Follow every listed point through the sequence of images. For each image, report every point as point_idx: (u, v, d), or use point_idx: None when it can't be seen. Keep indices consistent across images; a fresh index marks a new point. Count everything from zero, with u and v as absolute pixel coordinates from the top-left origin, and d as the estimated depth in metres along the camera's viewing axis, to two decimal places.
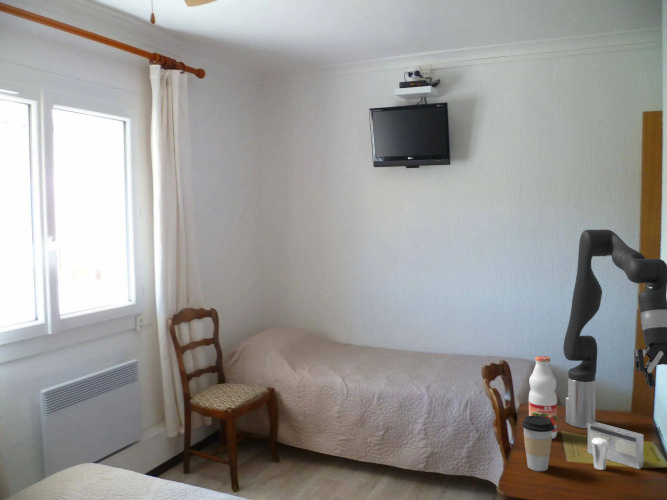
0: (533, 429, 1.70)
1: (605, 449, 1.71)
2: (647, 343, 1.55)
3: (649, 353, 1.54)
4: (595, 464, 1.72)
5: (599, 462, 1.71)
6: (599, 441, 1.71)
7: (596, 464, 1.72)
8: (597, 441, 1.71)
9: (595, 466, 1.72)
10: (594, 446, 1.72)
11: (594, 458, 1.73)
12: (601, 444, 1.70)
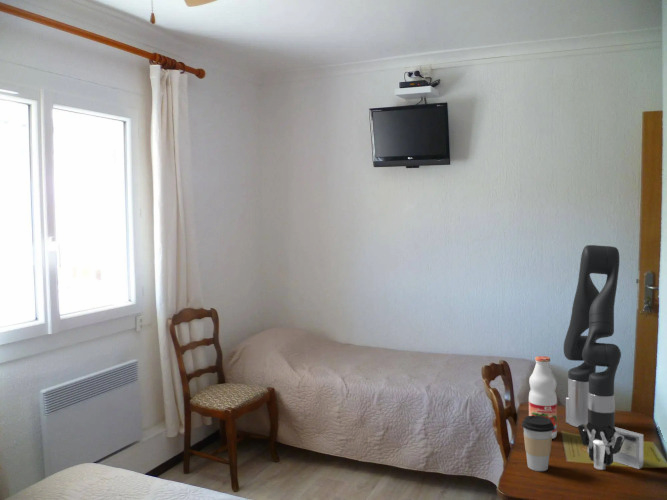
0: (533, 429, 1.70)
1: None
2: None
3: (587, 427, 1.75)
4: (595, 464, 1.72)
5: (599, 462, 1.71)
6: (600, 441, 1.71)
7: (596, 464, 1.72)
8: (598, 441, 1.71)
9: (595, 466, 1.72)
10: (595, 446, 1.72)
11: (594, 458, 1.72)
12: (602, 445, 1.70)
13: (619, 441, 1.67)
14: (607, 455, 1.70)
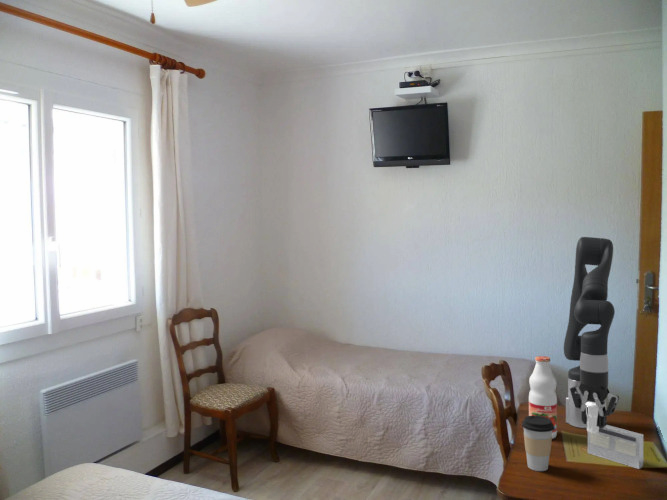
0: (533, 429, 1.70)
1: None
2: None
3: (579, 389, 1.67)
4: (588, 427, 1.64)
5: (592, 425, 1.63)
6: (593, 403, 1.63)
7: (589, 427, 1.64)
8: (591, 403, 1.63)
9: (588, 429, 1.64)
10: (587, 408, 1.64)
11: (587, 421, 1.64)
12: (595, 406, 1.62)
13: (613, 402, 1.59)
14: (600, 417, 1.62)
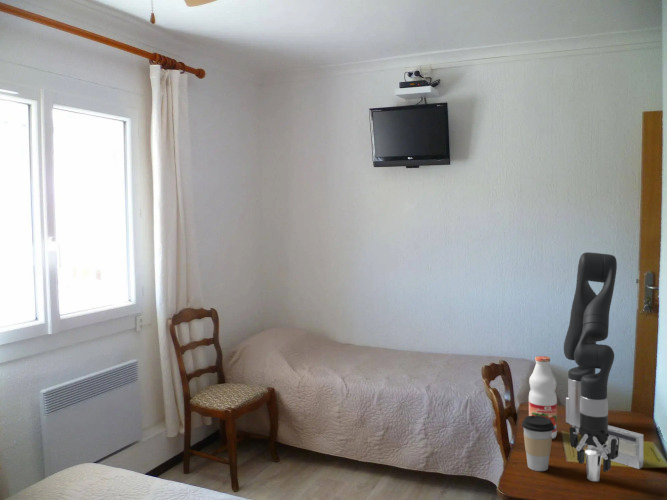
0: (533, 429, 1.70)
1: (599, 460, 1.63)
2: None
3: (579, 432, 1.67)
4: (588, 475, 1.65)
5: (593, 473, 1.64)
6: (593, 451, 1.64)
7: (589, 475, 1.65)
8: (591, 451, 1.64)
9: (588, 477, 1.65)
10: (587, 457, 1.64)
11: (587, 469, 1.65)
12: (595, 455, 1.63)
13: (614, 444, 1.59)
14: (604, 461, 1.62)
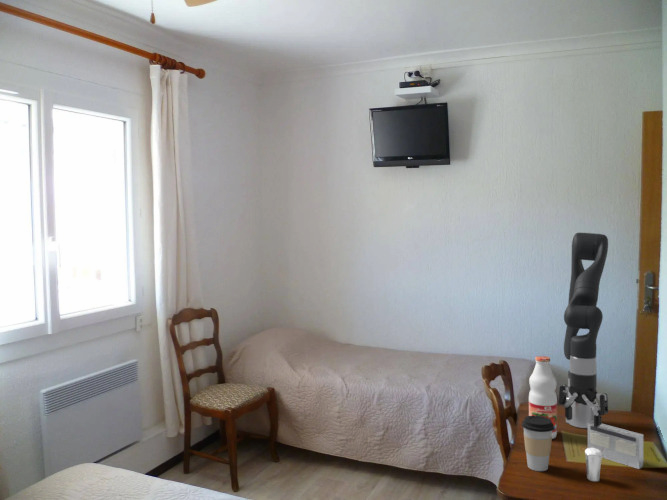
0: (533, 429, 1.70)
1: (599, 460, 1.63)
2: None
3: (569, 391, 1.73)
4: (588, 475, 1.65)
5: (593, 473, 1.64)
6: (592, 451, 1.64)
7: (589, 475, 1.65)
8: (590, 451, 1.64)
9: (588, 477, 1.65)
10: (587, 457, 1.64)
11: (587, 469, 1.65)
12: (595, 455, 1.63)
13: (602, 400, 1.65)
14: (595, 417, 1.67)
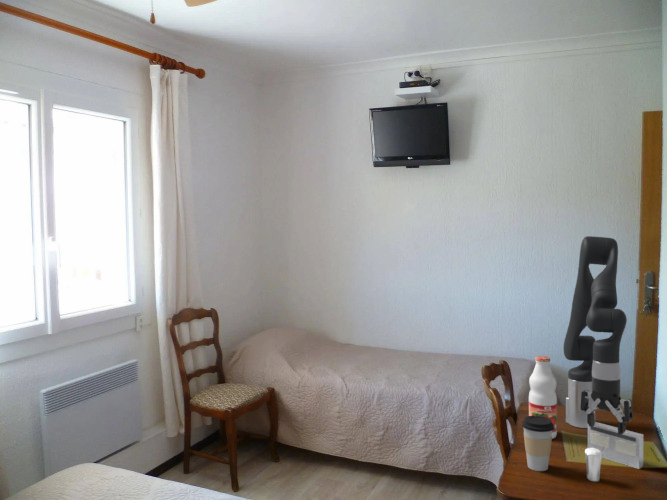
0: (533, 429, 1.70)
1: (599, 460, 1.63)
2: None
3: (591, 397, 1.68)
4: (588, 475, 1.65)
5: (593, 473, 1.64)
6: (592, 451, 1.64)
7: (589, 475, 1.65)
8: (590, 451, 1.64)
9: (588, 477, 1.65)
10: (587, 457, 1.64)
11: (587, 469, 1.65)
12: (595, 455, 1.63)
13: (627, 406, 1.60)
14: (619, 423, 1.62)
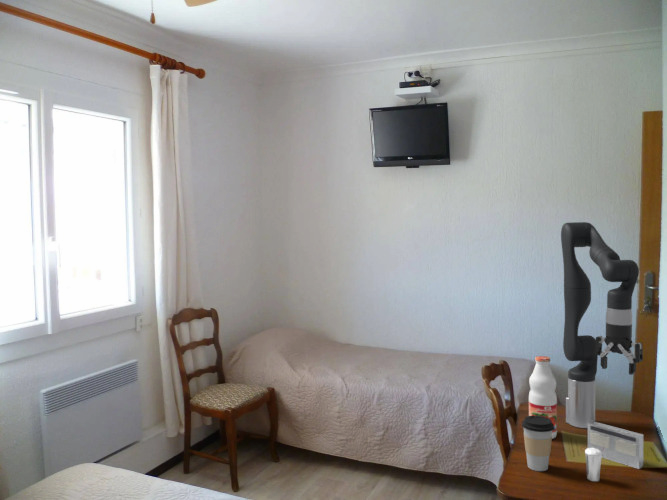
0: (533, 429, 1.70)
1: (599, 460, 1.63)
2: None
3: (605, 342, 1.83)
4: (588, 475, 1.65)
5: (593, 473, 1.64)
6: (593, 451, 1.64)
7: (589, 475, 1.65)
8: (590, 451, 1.64)
9: (588, 477, 1.65)
10: (587, 457, 1.64)
11: (587, 469, 1.65)
12: (595, 455, 1.63)
13: (637, 348, 1.75)
14: (630, 364, 1.77)
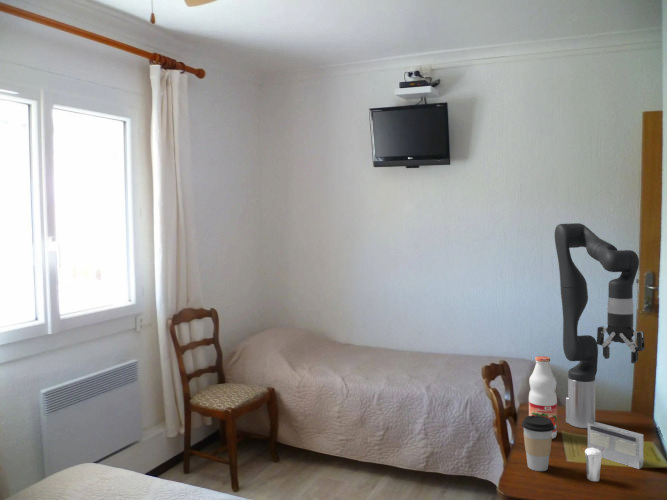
0: (533, 429, 1.70)
1: (599, 460, 1.63)
2: None
3: (607, 331, 1.85)
4: (588, 475, 1.65)
5: (593, 473, 1.64)
6: (592, 451, 1.64)
7: (589, 475, 1.65)
8: (590, 451, 1.64)
9: (588, 477, 1.65)
10: (587, 457, 1.64)
11: (587, 469, 1.65)
12: (595, 455, 1.63)
13: (639, 336, 1.77)
14: (632, 353, 1.79)
